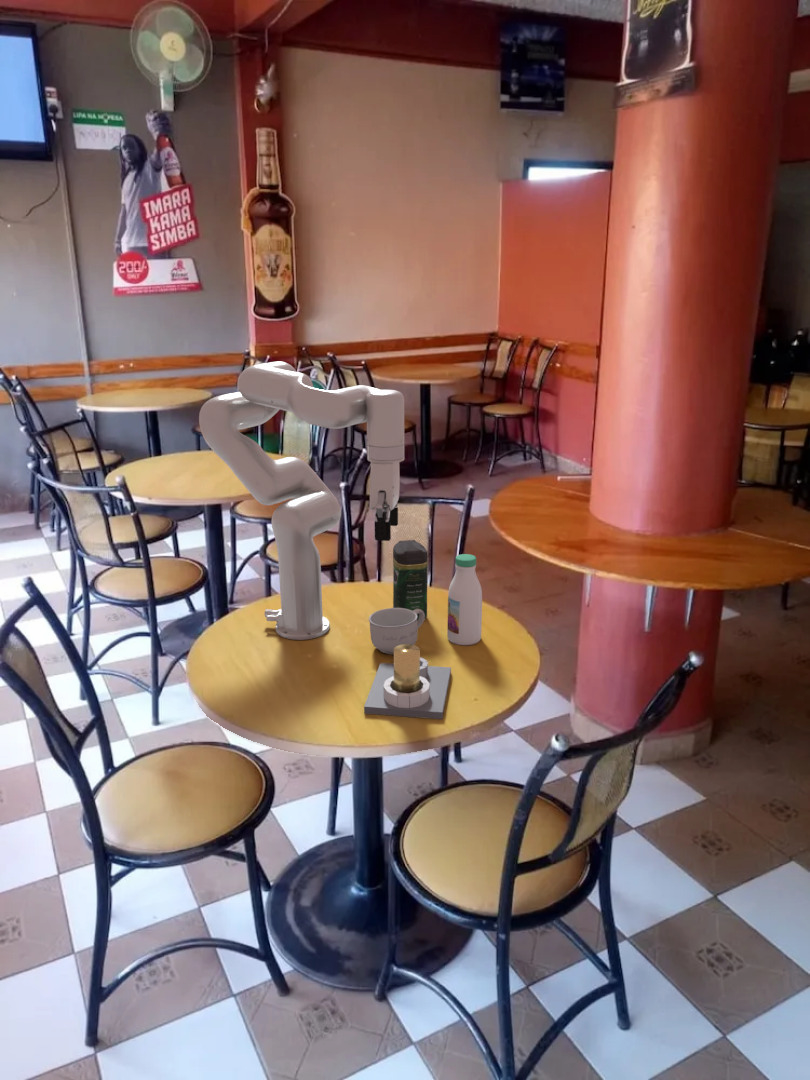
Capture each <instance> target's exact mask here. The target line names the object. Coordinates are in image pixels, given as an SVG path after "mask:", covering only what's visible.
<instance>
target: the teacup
mask: <svg viewBox="0 0 810 1080" xmlns="http://www.w3.org/2000/svg"><path fill="white" fill-rule="evenodd" d="M418 613H419V619H418V621H417V614H418ZM425 620H426V619H425V614H424V612H423V611H422V610H421V609H415V610H413V611H411V610H409V609H404V608H393V607H390V608H383V609H382V608H381V609H379V610H376V611H374V612H373V613H371V614H370V615H369V616H368V621H369V631H370V640H371V642H372V644H373V647H375V649H377V650H379V651H380V652H382V653H383V654H386V655H394V648H395V647H396V646H398V645H402V644H411V645H416V643H417V642H418V641H417V640H418V629H419V628H421V626H422V625H423V624H424V621H425Z"/></svg>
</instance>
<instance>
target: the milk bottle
mask: <svg viewBox="0 0 810 1080" xmlns="http://www.w3.org/2000/svg"><path fill="white" fill-rule="evenodd" d="M455 568H456V571H455V574H454V576H453V578H452V580H451V582H450V584H449V588H448V594H447V595H448V597H447V629H446V630H447V640H448V641H450V642H451V643H452V644H454V645H459V646H471V645H472V646H473V645H475V644H478V643H479V642H480V641H481V639H482V624H483V623H482V621H483V619H482V618H483V614H482V613H483V592H482V591H483V590H482V586H481V583H480V581H479V578H478V576H477V573H476V568H477V557H476V555H474V554H470V553H469V554H468V553H462V554H458V555H456V556H455Z"/></svg>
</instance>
